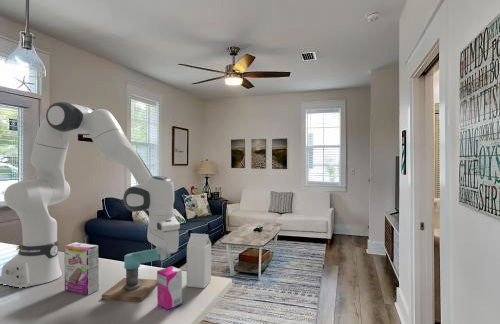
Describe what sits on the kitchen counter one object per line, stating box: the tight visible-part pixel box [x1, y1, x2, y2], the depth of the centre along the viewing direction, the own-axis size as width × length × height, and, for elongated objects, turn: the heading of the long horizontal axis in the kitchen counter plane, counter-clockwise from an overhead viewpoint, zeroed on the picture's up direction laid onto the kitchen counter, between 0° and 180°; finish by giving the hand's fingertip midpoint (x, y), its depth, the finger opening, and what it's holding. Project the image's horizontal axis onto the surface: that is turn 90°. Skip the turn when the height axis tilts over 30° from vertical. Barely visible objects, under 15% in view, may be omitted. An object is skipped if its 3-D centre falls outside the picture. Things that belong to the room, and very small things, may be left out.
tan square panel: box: [101, 267, 157, 303], centre depth 106 cm, size 14×14×9 cm
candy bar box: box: [63, 241, 99, 296], centre depth 106 cm, size 11×5×16 cm, turn 71°
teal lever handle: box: [123, 247, 171, 270], centre depth 109 cm, size 17×5×5 cm, turn 128°
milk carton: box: [186, 233, 212, 289], centre depth 113 cm, size 7×7×19 cm
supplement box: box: [156, 266, 183, 312], centre depth 96 cm, size 6×6×12 cm
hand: (161, 259), depth 108 cm, fingers closed
